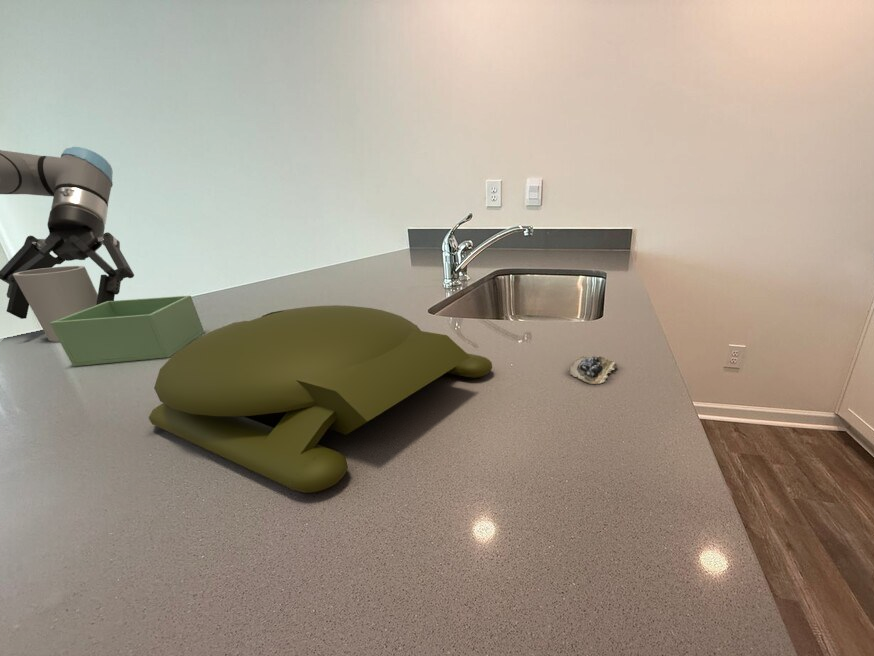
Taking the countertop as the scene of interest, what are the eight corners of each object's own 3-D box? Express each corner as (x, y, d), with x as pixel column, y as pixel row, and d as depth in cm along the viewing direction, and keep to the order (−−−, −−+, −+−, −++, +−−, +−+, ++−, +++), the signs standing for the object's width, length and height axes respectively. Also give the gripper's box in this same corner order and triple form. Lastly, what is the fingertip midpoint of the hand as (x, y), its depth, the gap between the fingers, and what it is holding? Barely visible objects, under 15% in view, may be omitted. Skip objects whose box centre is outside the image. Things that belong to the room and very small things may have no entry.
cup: (110, 334, 78) (80, 270, 72) (43, 345, 73) (5, 277, 68) (115, 323, 84) (88, 264, 79) (54, 332, 79) (20, 270, 74)
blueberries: (616, 362, 60) (617, 350, 59) (621, 385, 53) (622, 372, 52) (570, 360, 61) (570, 348, 60) (569, 383, 54) (569, 370, 53)
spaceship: (499, 371, 58) (496, 303, 54) (315, 508, 34) (283, 405, 29) (331, 337, 73) (318, 282, 69) (120, 415, 49) (80, 338, 45)
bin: (72, 366, 63) (49, 322, 60) (124, 339, 75) (106, 301, 72) (169, 357, 66) (151, 315, 63) (204, 332, 78) (190, 295, 74)
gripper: (-18, 206, 75) (-47, 306, 69) (137, 201, 80) (124, 295, 73) (21, 234, 82) (-1, 327, 76) (162, 228, 87) (152, 315, 80)
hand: (61, 311), depth 74 cm, fingers open, 13 cm apart
